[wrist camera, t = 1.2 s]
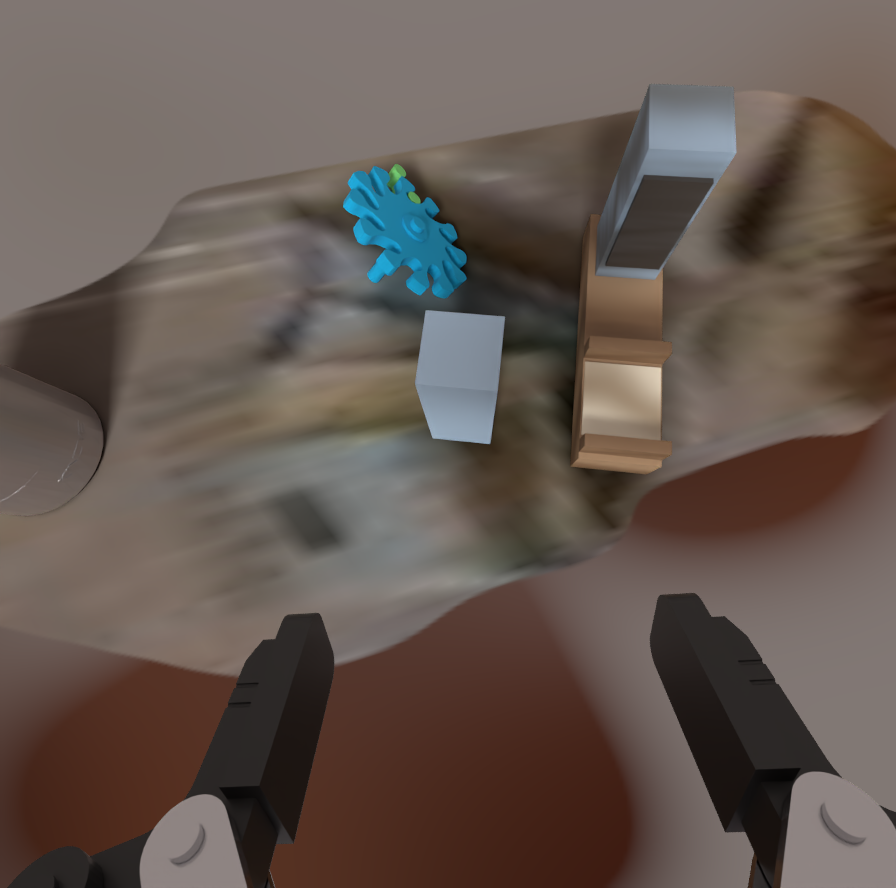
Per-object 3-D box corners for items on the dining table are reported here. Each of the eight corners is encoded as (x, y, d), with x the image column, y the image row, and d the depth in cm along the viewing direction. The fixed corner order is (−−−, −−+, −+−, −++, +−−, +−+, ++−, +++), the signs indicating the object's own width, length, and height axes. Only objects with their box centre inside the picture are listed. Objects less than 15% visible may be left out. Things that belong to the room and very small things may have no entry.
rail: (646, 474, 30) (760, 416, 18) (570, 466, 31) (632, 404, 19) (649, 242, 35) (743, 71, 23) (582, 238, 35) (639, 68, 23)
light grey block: (432, 438, 32) (414, 383, 22) (440, 380, 33) (426, 304, 23) (490, 444, 32) (497, 391, 22) (495, 385, 33) (505, 311, 23)
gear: (483, 307, 32) (359, 245, 26) (431, 350, 36) (312, 305, 30) (460, 197, 37) (349, 120, 30) (416, 246, 41) (309, 188, 34)
